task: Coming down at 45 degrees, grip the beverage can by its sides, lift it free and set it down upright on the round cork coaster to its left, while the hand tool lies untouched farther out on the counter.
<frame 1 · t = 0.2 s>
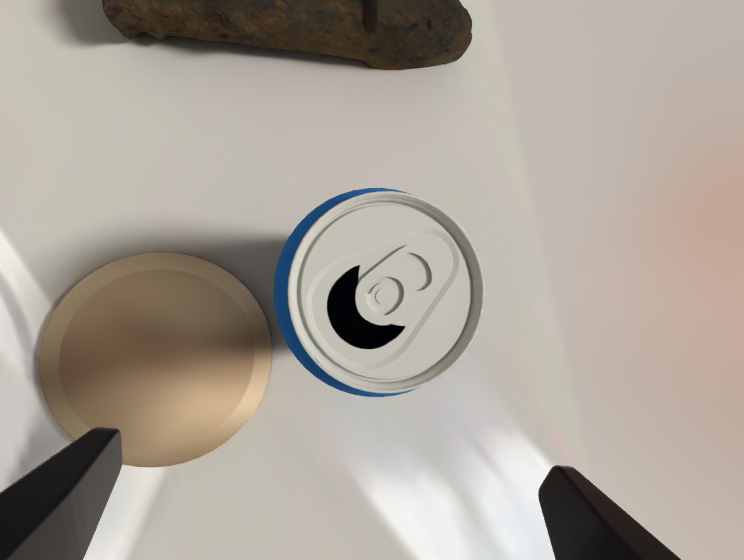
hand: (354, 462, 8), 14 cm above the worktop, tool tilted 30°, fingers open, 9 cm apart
beverage can: (341, 292, 23), on the worktop
hand tool: (303, 34, 23), on the worktop
coaster: (165, 356, 21), on the worktop
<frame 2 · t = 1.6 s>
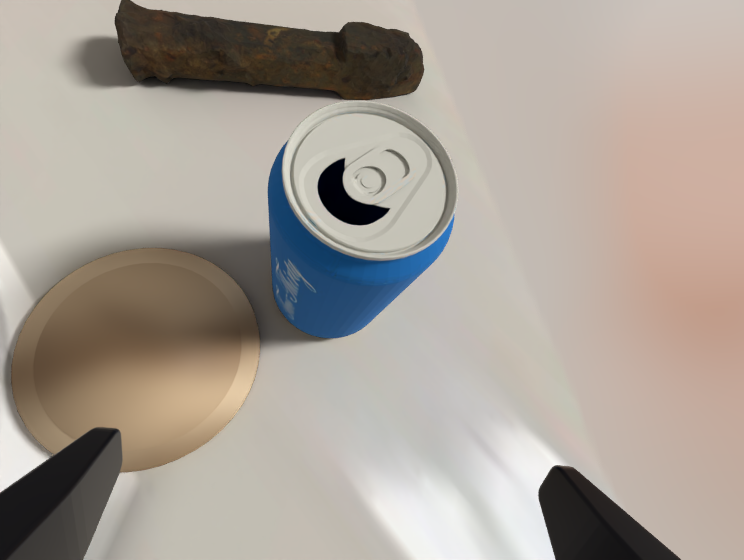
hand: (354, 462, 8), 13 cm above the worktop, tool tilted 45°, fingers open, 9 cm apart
beverage can: (328, 287, 23), on the worktop
hand tool: (285, 78, 28), on the worktop
coaster: (148, 351, 20), on the worktop
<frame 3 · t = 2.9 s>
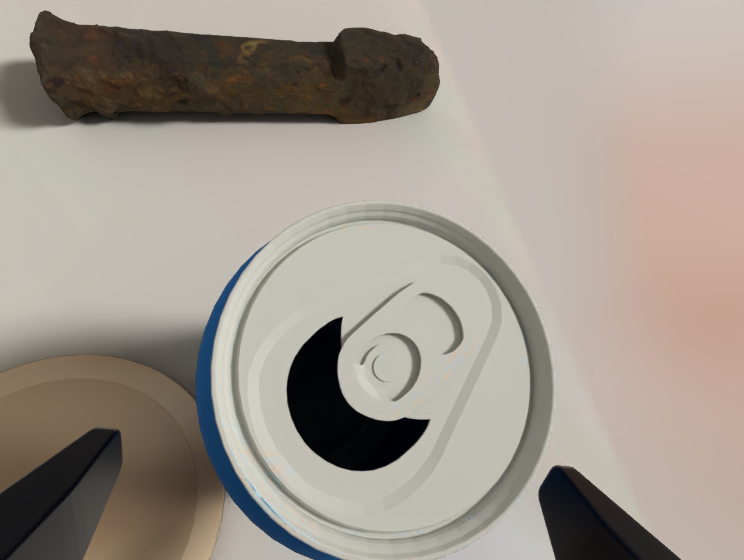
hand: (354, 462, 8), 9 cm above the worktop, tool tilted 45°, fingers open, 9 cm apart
beverage can: (320, 393, 17), on the worktop
hand tool: (267, 102, 22), on the worktop
coaster: (61, 512, 14), on the worktop
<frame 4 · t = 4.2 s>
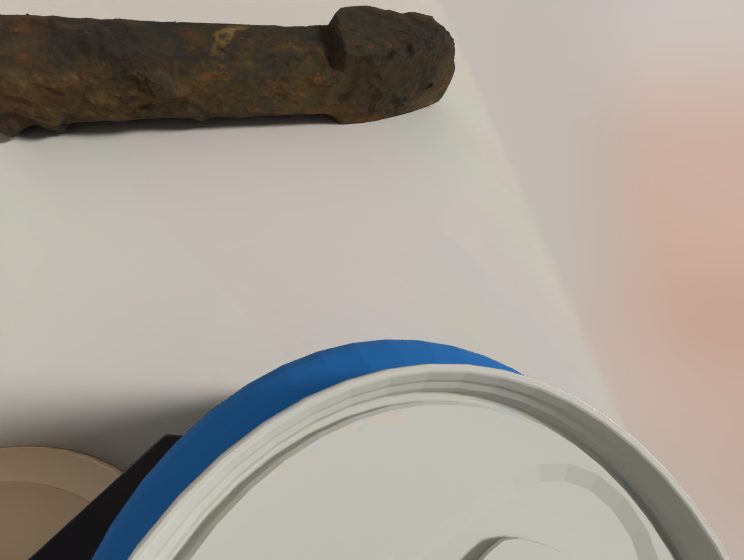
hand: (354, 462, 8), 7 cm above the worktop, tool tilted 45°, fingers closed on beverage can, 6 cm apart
beverage can: (315, 481, 14), on the worktop, touching gripper
hand tool: (250, 102, 18), on the worktop
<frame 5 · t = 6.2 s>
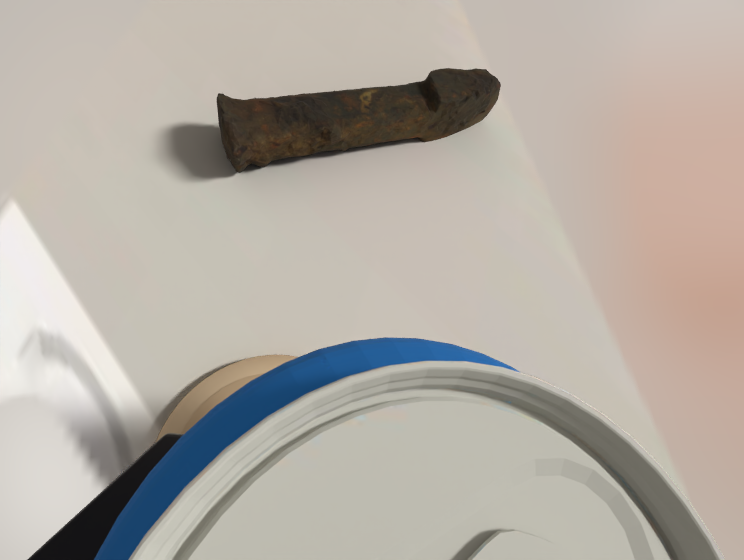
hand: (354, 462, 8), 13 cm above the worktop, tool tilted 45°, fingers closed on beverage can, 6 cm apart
beverage can: (316, 479, 14), point 6 cm above the worktop, touching gripper
hand tool: (363, 132, 27), on the worktop
coaster: (271, 467, 19), on the worktop
when the fingers open (8 cm above the worktop, at t = 8.0 s): beverage can stays where it is, resting on coaster.
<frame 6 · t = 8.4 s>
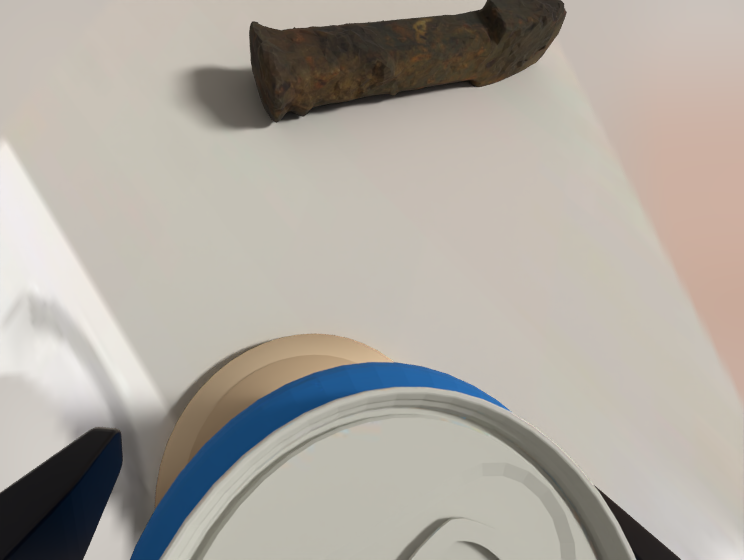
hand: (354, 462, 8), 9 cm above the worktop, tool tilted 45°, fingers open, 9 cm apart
beverage can: (314, 479, 15), point 1 cm above the worktop, touching coaster
hand tool: (408, 78, 24), on the worktop
coaster: (311, 473, 15), on the worktop
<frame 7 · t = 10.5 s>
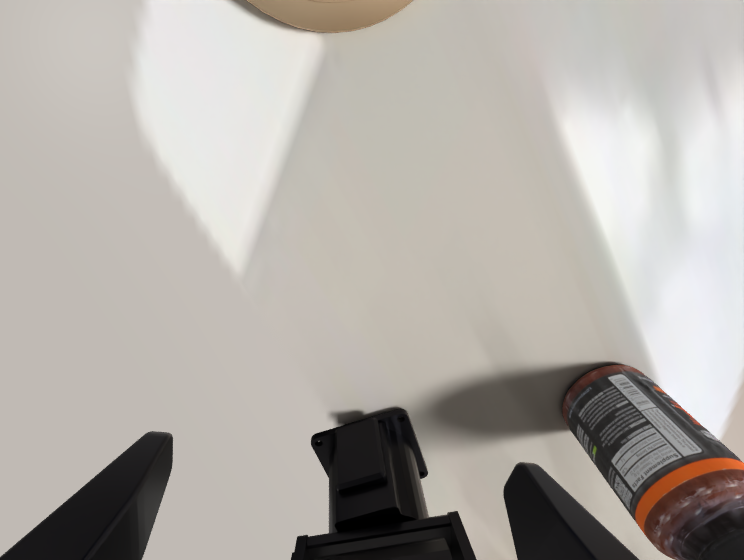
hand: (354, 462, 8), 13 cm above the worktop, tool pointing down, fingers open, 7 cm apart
supplement bottle: (598, 393, 26), on the worktop
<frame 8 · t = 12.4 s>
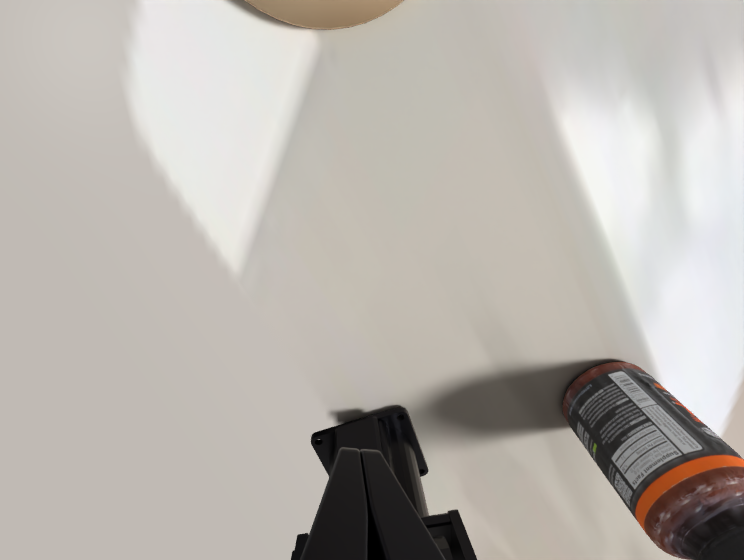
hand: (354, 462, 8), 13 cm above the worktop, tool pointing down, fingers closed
supplement bottle: (599, 390, 26), on the worktop
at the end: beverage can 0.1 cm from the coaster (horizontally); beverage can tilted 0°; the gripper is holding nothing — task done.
